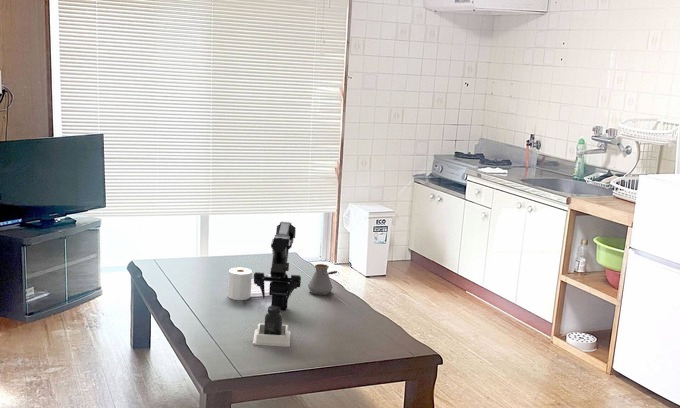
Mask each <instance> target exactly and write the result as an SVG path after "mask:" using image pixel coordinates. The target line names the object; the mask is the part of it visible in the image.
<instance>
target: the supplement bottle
mask: <svg viewBox="0 0 680 408" xmlns="http://www.w3.org/2000/svg"><path fill="white" fill-rule="evenodd" d="M263 324H264V334H267V335H281V334H282V325H283V315H282V313H281V310H280V307H278V306H271V305H270V306H268V307H267V312H266V314H265V315H264V323H263Z"/></svg>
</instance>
